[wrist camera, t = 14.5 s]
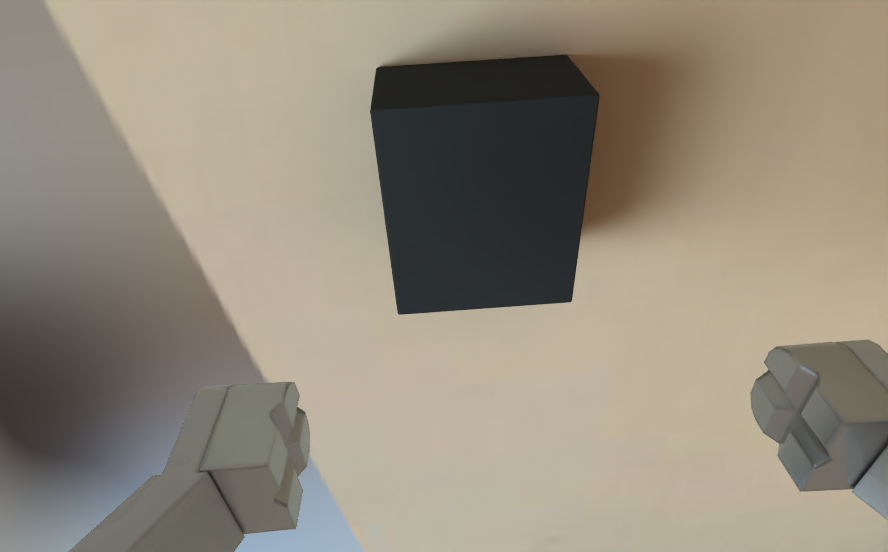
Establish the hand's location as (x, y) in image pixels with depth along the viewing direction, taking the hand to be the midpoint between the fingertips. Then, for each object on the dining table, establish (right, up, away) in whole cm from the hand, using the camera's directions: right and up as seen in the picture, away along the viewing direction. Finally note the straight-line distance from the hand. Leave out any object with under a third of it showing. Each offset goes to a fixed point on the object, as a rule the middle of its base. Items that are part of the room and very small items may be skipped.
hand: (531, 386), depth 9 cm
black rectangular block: (-1, +5, +6) cm, 8 cm away
